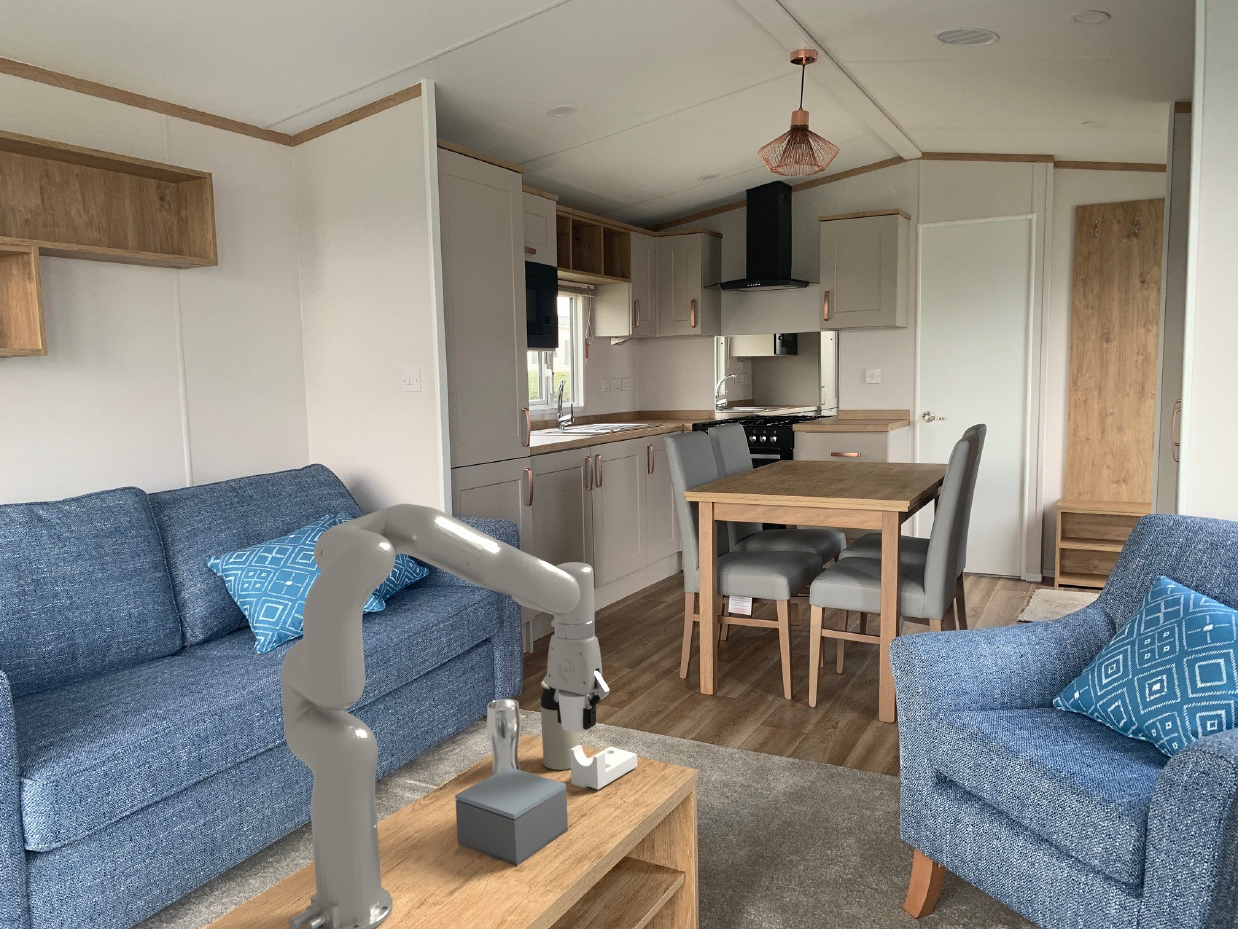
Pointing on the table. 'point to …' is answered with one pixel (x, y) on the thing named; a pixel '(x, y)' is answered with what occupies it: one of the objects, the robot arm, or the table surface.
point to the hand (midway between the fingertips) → (576, 723)
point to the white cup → (572, 710)
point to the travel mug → (555, 734)
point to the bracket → (600, 766)
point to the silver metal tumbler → (504, 733)
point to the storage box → (512, 829)
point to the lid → (511, 792)
